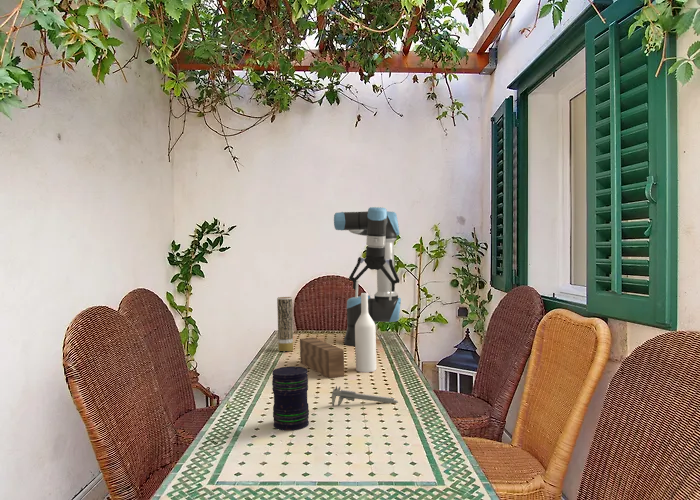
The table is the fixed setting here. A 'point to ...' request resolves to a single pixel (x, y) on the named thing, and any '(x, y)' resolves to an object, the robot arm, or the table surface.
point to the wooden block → (322, 357)
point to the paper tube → (285, 323)
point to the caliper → (357, 397)
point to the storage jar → (290, 398)
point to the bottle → (365, 339)
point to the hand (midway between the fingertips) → (373, 298)
